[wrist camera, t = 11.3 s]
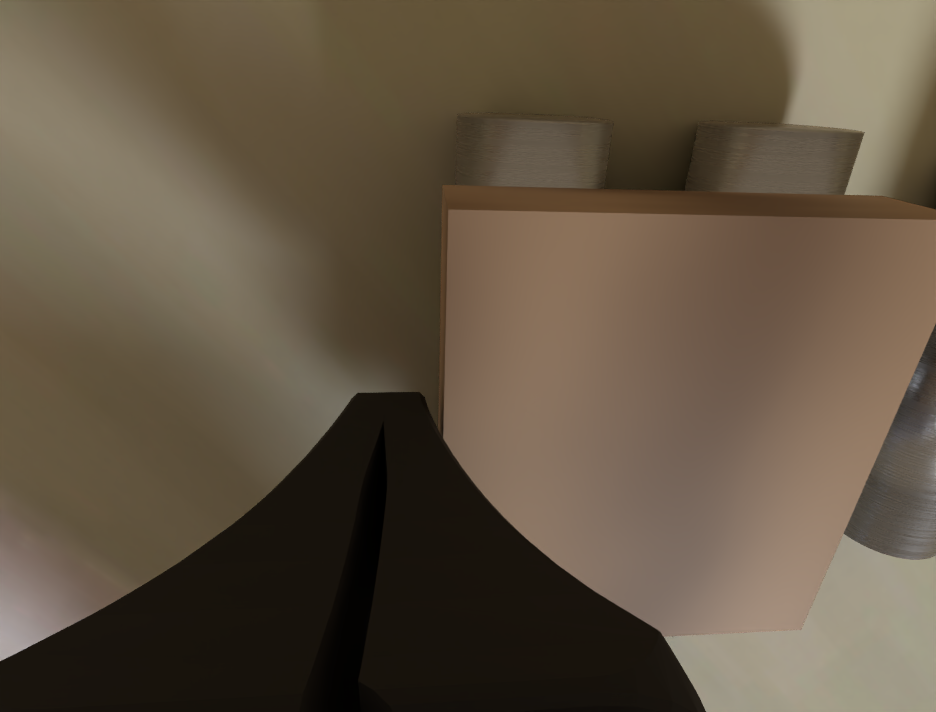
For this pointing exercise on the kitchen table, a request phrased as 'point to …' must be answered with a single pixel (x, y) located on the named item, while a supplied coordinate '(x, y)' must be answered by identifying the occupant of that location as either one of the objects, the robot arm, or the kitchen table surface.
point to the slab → (680, 382)
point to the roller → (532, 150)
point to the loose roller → (904, 475)
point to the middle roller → (772, 158)
